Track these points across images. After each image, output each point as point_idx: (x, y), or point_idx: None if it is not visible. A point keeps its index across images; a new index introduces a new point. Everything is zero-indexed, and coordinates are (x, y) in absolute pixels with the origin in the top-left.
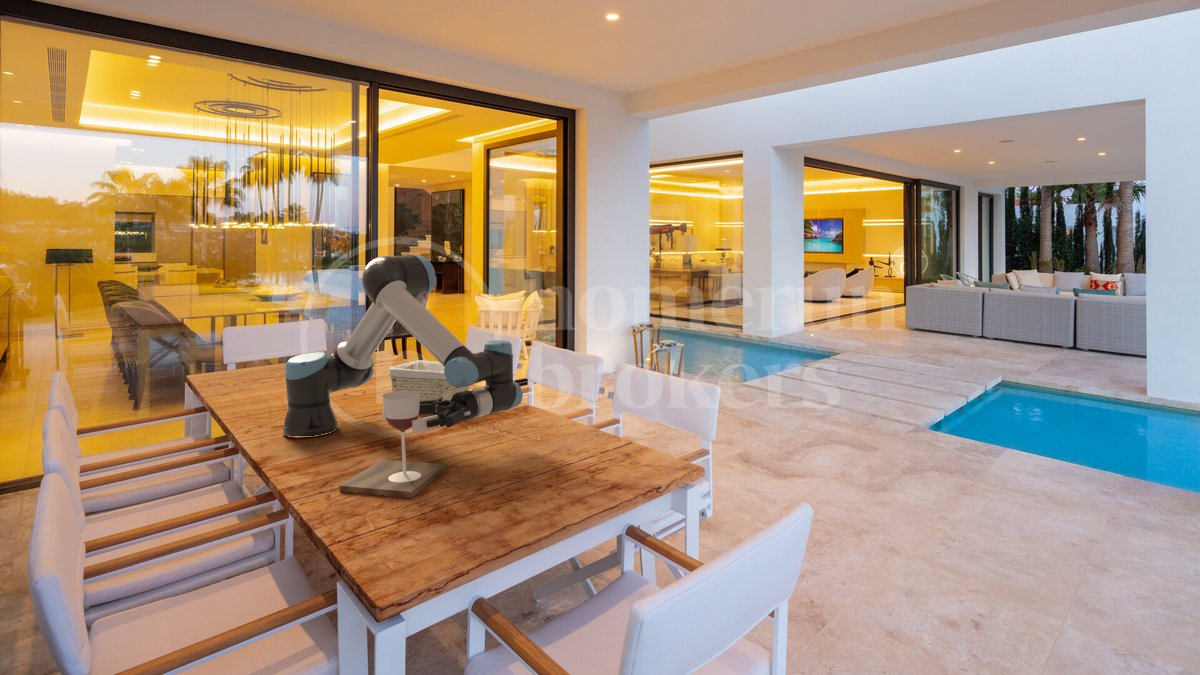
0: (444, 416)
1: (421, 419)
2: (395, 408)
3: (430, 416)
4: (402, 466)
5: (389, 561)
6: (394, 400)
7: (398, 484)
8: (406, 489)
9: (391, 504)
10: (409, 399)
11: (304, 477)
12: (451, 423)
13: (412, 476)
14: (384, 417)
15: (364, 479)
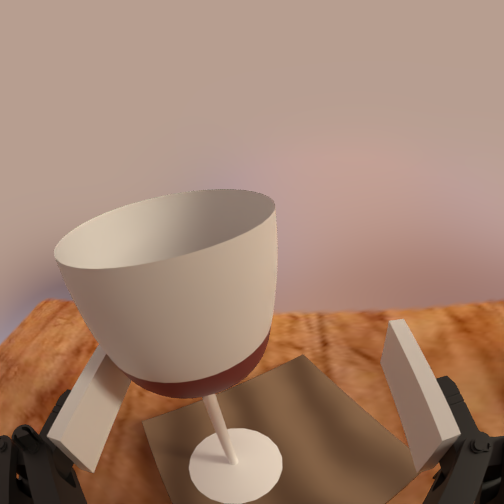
0: (26, 458)
1: (88, 363)
2: (142, 245)
3: (71, 407)
4: (323, 495)
5: (64, 322)
6: (135, 209)
7: (202, 430)
8: (160, 423)
9: (161, 395)
10: (79, 232)
11: (422, 336)
12: (26, 489)
13: (208, 471)
14: (383, 350)
15: (299, 395)
